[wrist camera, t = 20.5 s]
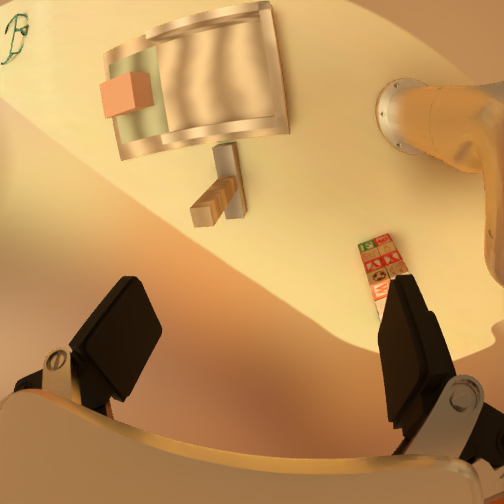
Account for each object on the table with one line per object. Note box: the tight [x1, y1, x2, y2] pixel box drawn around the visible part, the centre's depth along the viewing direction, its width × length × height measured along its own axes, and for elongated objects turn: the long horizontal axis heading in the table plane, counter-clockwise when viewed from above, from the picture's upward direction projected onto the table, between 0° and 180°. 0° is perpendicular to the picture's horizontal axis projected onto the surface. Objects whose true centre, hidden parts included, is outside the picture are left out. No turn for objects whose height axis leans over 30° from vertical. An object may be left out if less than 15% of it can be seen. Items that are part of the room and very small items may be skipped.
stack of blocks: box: [358, 233, 409, 322], centre depth 44 cm, size 21×6×12 cm, turn 28°
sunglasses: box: [1, 14, 28, 65], centre depth 27 cm, size 14×15×5 cm
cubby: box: [103, 1, 290, 161], centre depth 33 cm, size 30×22×6 cm
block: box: [100, 72, 154, 119], centre depth 34 cm, size 6×6×6 cm
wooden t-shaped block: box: [190, 142, 247, 228], centre depth 37 cm, size 3×12×16 cm, turn 8°
